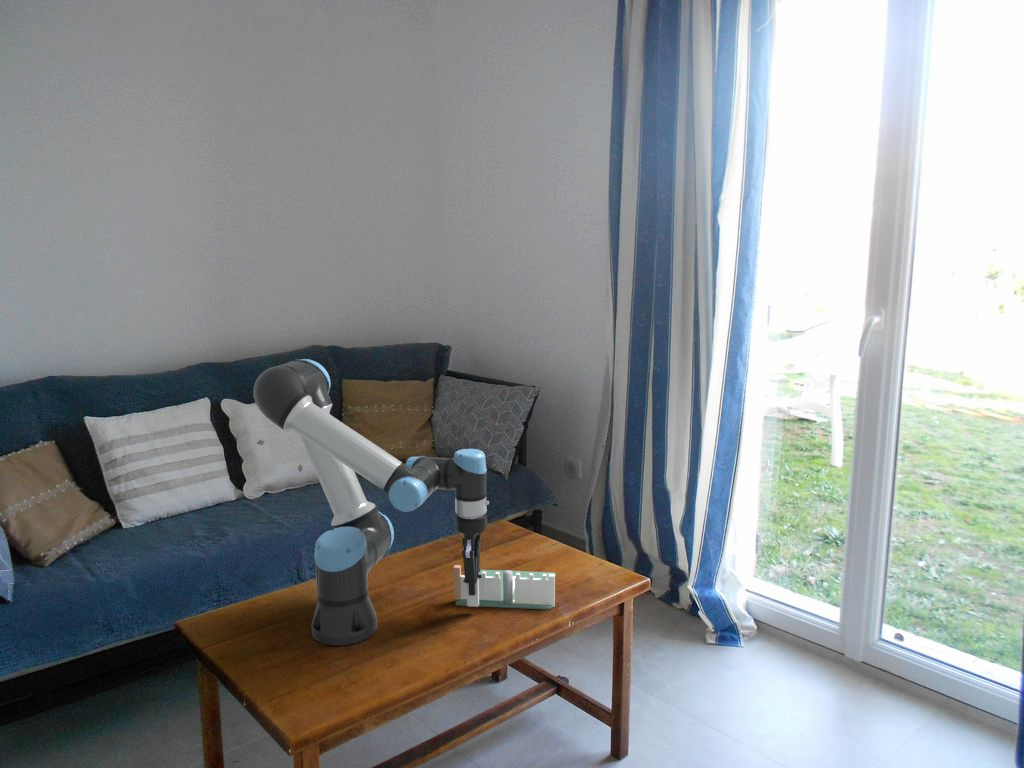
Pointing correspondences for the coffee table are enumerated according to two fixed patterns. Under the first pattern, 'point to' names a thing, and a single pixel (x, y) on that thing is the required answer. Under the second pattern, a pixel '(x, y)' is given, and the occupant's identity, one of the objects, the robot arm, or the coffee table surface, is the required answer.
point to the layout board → (514, 604)
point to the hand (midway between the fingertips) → (473, 604)
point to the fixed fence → (529, 588)
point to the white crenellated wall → (487, 586)
